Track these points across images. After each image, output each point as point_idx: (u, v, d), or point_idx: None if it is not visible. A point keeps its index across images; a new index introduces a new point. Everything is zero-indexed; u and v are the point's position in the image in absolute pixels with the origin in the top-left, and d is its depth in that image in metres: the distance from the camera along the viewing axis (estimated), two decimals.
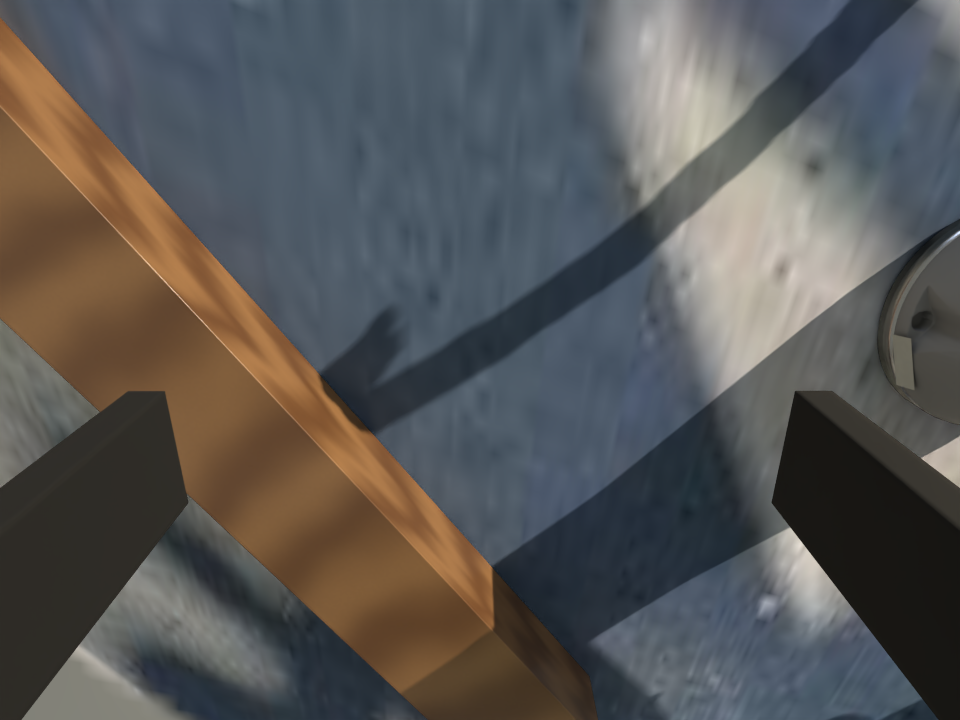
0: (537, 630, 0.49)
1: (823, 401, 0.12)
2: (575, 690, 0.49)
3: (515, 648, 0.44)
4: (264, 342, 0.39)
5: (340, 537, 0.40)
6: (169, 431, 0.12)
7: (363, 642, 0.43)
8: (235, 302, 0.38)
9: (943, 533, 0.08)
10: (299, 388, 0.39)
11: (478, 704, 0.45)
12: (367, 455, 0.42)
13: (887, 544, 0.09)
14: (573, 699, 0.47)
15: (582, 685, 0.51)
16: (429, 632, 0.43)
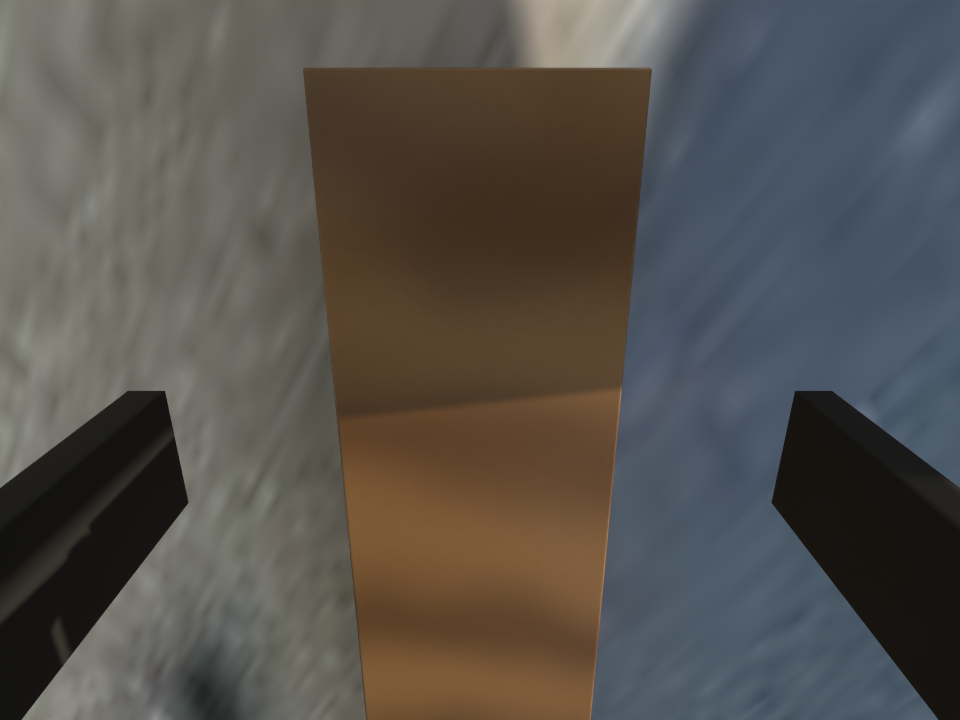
0: None
1: (823, 401, 0.12)
2: None
3: None
4: None
5: None
6: (169, 431, 0.12)
7: None
8: None
9: (943, 533, 0.08)
10: None
11: None
12: None
13: (887, 544, 0.10)
14: None
15: None
16: None
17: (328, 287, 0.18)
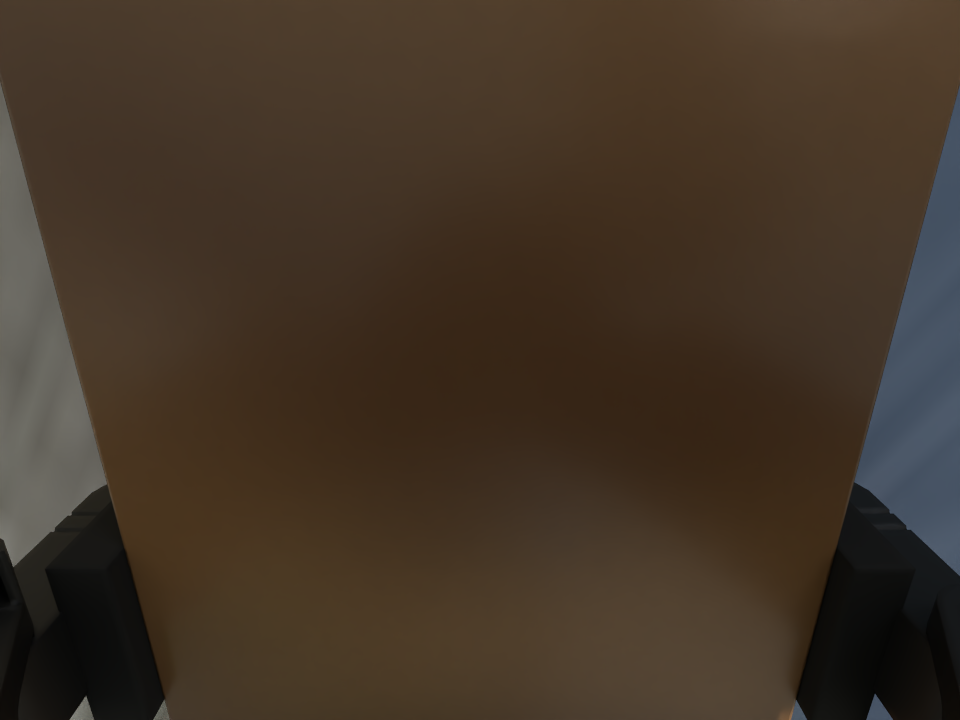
0: None
1: None
2: None
3: None
4: None
5: None
6: None
7: None
8: None
9: None
10: None
11: None
12: None
13: None
14: None
15: None
16: None
17: (125, 513, 0.07)
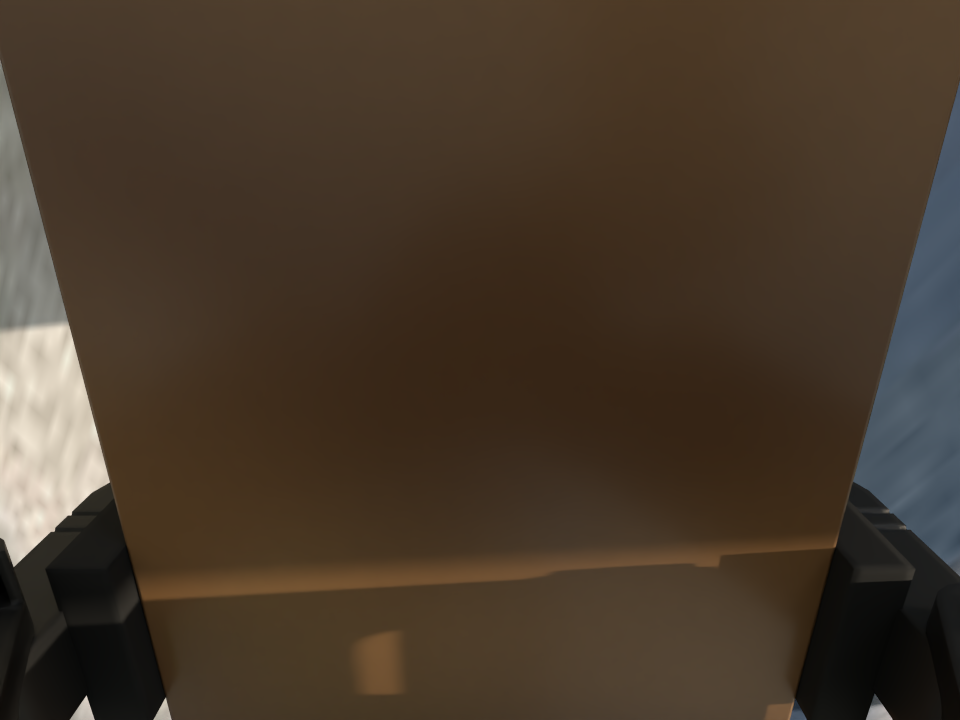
0: None
1: None
2: None
3: None
4: None
5: None
6: None
7: None
8: None
9: None
10: None
11: None
12: None
13: None
14: None
15: None
16: None
17: (127, 512, 0.08)
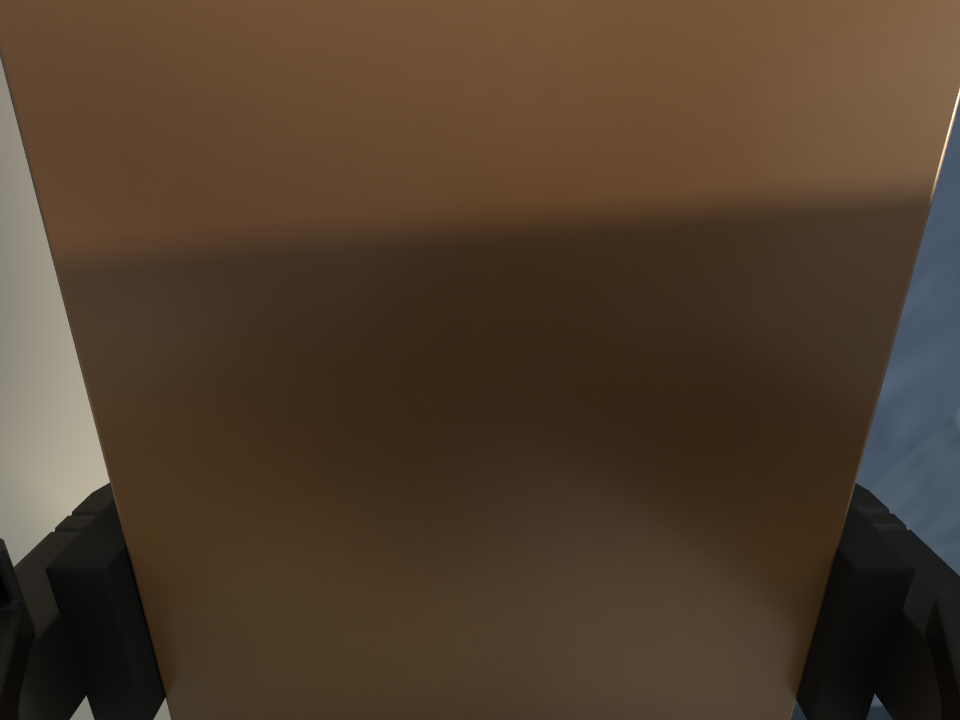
0: None
1: None
2: None
3: None
4: None
5: None
6: None
7: None
8: None
9: None
10: None
11: None
12: None
13: None
14: None
15: None
16: None
17: (128, 514, 0.08)
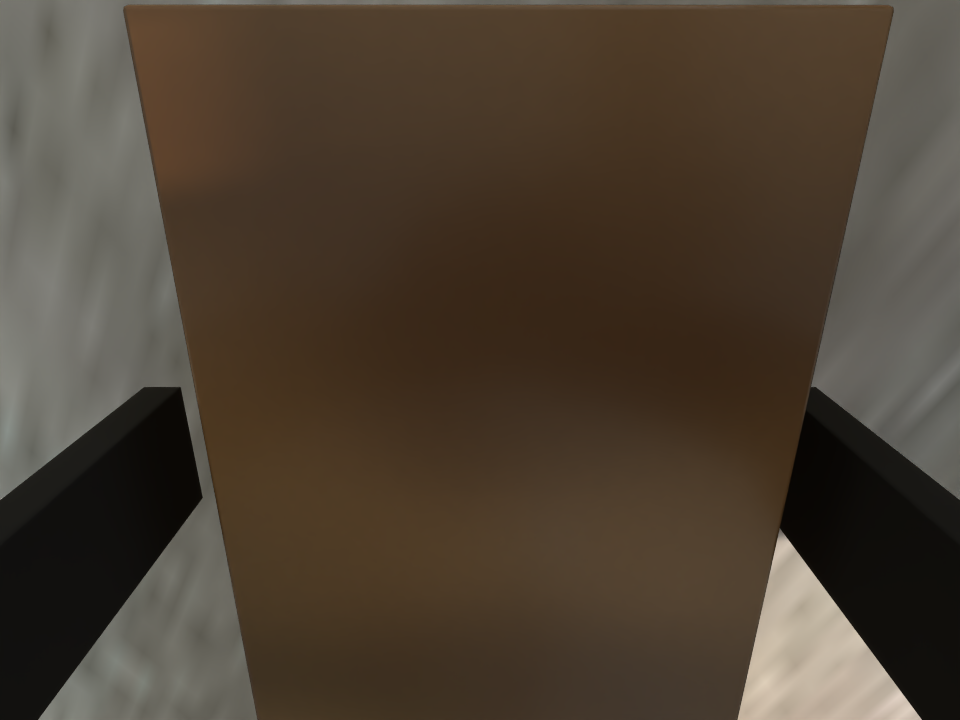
0: None
1: None
2: None
3: None
4: None
5: None
6: (184, 427, 0.13)
7: None
8: None
9: (916, 525, 0.09)
10: None
11: None
12: None
13: (865, 536, 0.10)
14: None
15: None
16: None
17: (213, 444, 0.09)
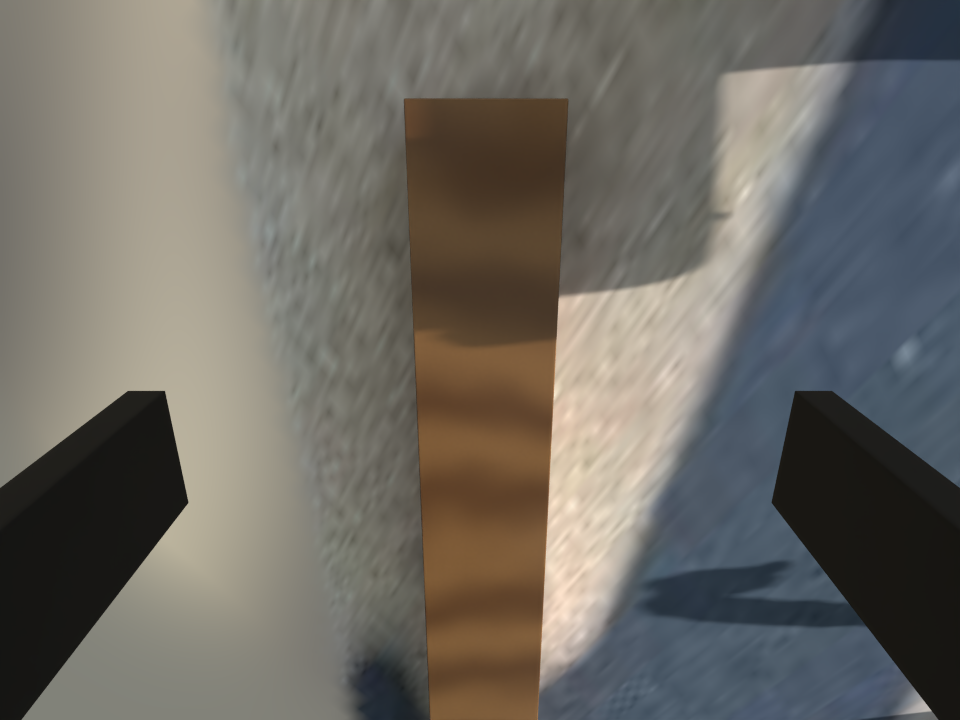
0: None
1: (823, 401, 0.12)
2: None
3: None
4: None
5: (497, 675, 0.49)
6: (169, 431, 0.12)
7: None
8: None
9: (943, 533, 0.08)
10: None
11: None
12: None
13: (887, 544, 0.09)
14: None
15: None
16: None
17: (410, 207, 0.36)
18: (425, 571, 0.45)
